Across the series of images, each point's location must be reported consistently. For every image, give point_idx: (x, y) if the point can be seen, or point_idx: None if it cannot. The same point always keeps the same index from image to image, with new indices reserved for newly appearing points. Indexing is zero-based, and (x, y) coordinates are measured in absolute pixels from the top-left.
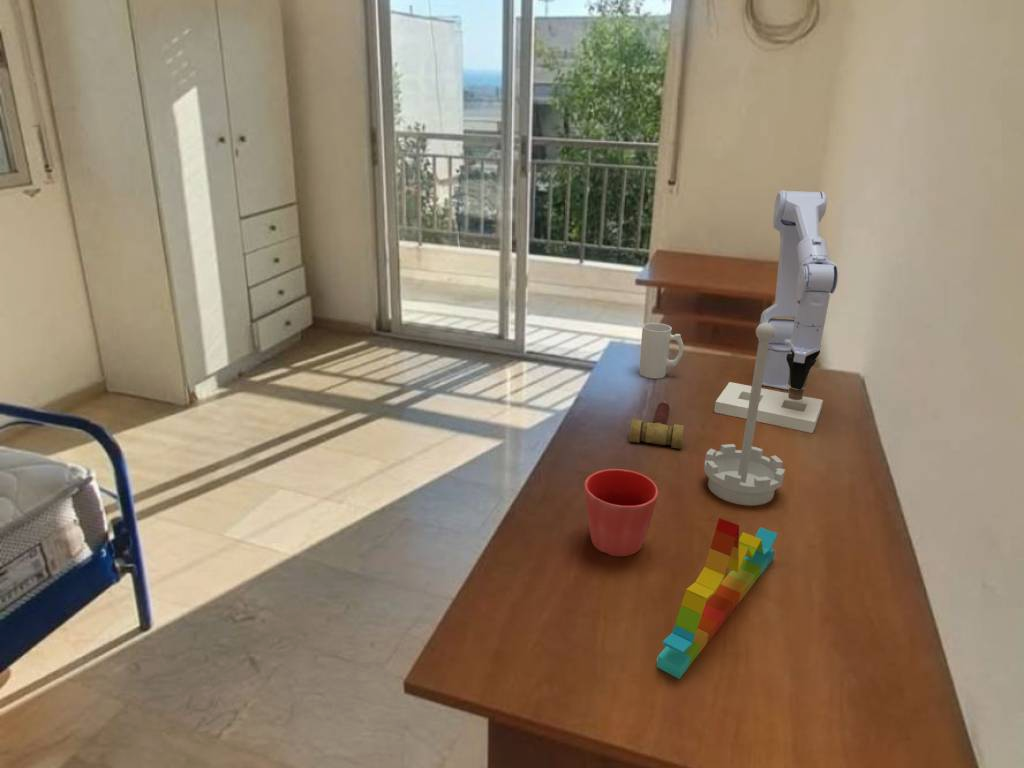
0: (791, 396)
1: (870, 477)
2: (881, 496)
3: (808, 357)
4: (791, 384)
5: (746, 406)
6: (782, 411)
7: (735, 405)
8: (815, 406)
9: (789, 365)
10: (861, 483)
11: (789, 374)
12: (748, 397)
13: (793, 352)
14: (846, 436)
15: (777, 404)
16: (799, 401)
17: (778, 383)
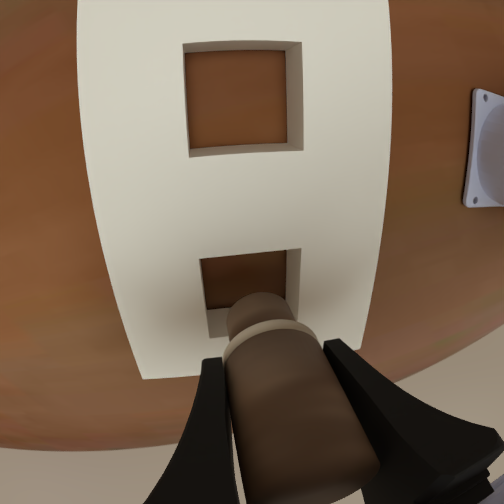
0: (230, 319)
1: (44, 437)
2: (9, 440)
3: (377, 499)
4: (201, 375)
5: (97, 120)
6: (152, 277)
7: (79, 72)
8: None
9: (152, 492)
10: (14, 426)
11: (268, 382)
12: (294, 79)
13: (424, 470)
14: (192, 405)
15: (221, 238)
16: (311, 299)
17: (482, 173)
